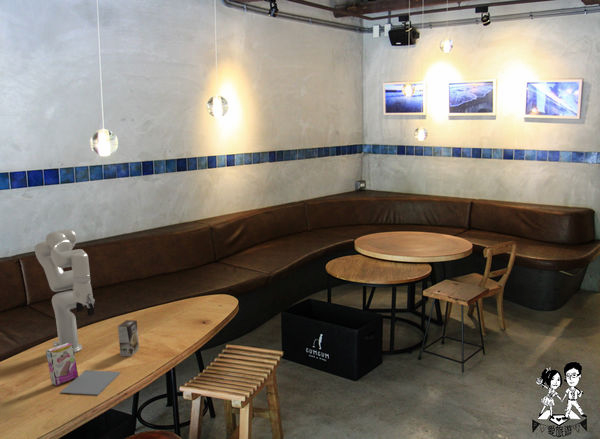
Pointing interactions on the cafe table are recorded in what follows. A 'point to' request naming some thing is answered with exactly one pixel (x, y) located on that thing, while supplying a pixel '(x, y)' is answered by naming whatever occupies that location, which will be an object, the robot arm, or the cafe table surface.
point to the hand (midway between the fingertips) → (85, 313)
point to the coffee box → (128, 338)
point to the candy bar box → (62, 363)
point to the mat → (91, 382)
